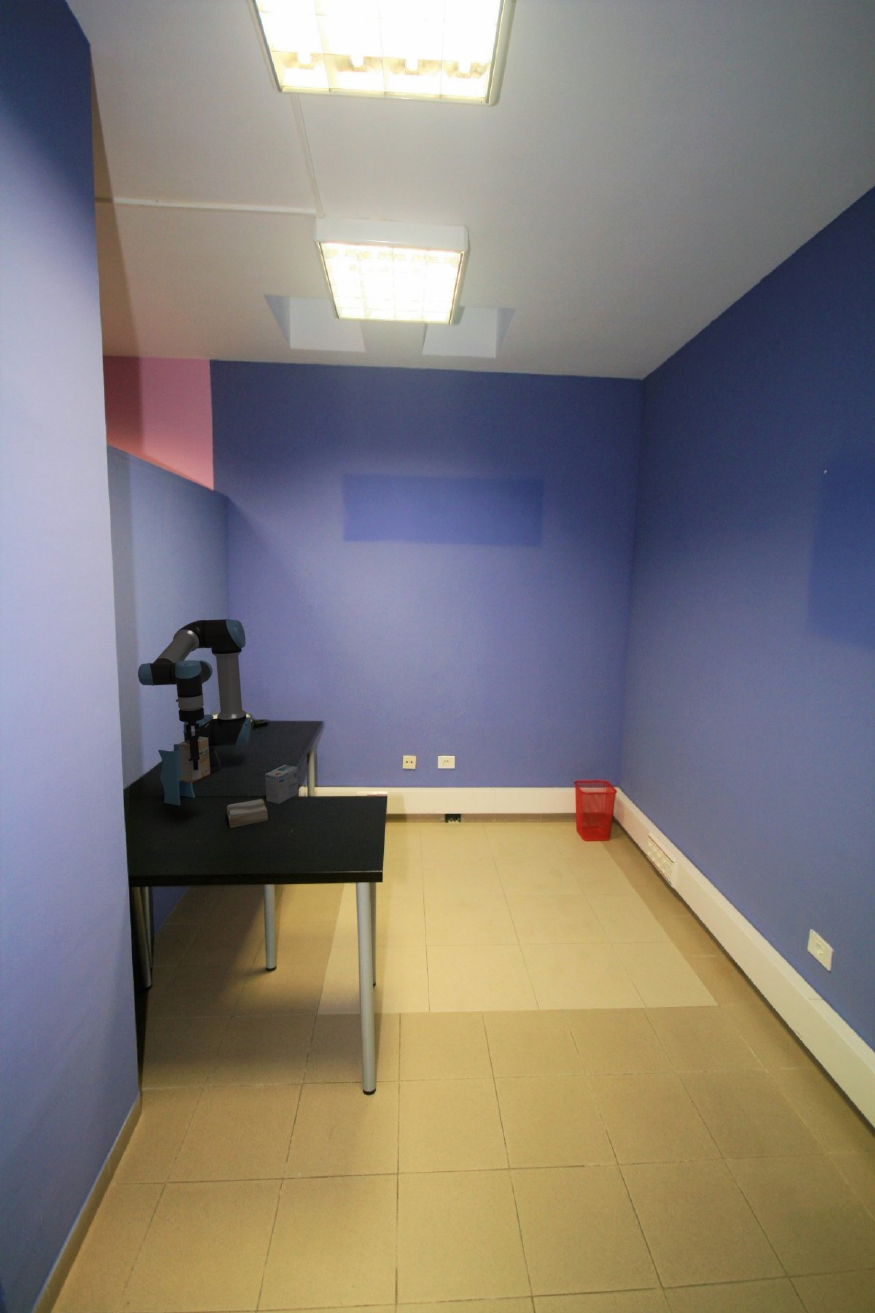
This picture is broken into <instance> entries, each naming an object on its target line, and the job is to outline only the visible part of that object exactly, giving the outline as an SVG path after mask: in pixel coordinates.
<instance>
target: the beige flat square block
mask: <svg viewBox="0 0 875 1313" xmlns="http://www.w3.org/2000/svg"><path fill="white" fill-rule="evenodd" d="M226 813H227V814H226V815H227V819H228V823H229V828H237V827H241V826H246V825H252V824H257V823H261V822H267V821H268V820H269V819H268V818H269V816H268V809H267V806H266V804H265V802H264V799H263V798H258V799H254V800H247V801H243V802H236V803H232V804H228V805H227V806H226Z"/></svg>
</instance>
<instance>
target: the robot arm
mask: <svg viewBox="0 0 875 1313" xmlns="http://www.w3.org/2000/svg"><path fill="white" fill-rule="evenodd" d="M246 644H247V643H246V633H245V629H244V626H243V624H242V622H240V621H239V620H237V619H227V618H226V619H225V618H224V619H199V620H195V621H192V622H190V623H187V624H185V625H184V626H183V627H181V628H180V629H178V630H176V632H175V634H174V635H173V637H172V641H171V642H170V643H169V644H168V645H167V647H166V648H164V650H163V651H162V652H161V653H160V654H159V655H158V657H157V658H156V659H155V660H154V661H153V662H148V663H141V664H140V665H139V667H138V671H137V678H138V681H139V683H140V684H141V685H143V686H152V687H153V686H171V685H172V686H173V685H176V694H177V699H175V703H177V706H178V708H179V709H178V720H179V721H180V722H182V723H183V731H182V732H183V740H184V741H187V740H189V741H190V752H191V758H190V759H188V760H189V761H191V772H192V780H193V779H198V780H200V779H202V778H201V768H200V757H199V746H198V739H199V737H206V738H208V746H209V762H210V774H209V775H211V774H214V773H216V772H218V771H219V770H220V769H221V767H222V765H221V760H220V758H219V755H218V753H217V751H216V747H221V746H223V747H224V746H240V745H246V744H247V743H248V741H249V739H250V736H251V730H252V718H251V717H250V716H247V712H246V711H245V710H243V704H242V691H241V688H242V687H241V673H240V663H239V655H240V654H241V653H242V651H243V648H245V646H246ZM198 649H211V650H210V651H211V654H212V655H213V656H215V658H216V659H215V660H216V661H215V662H216V671H217V672H216V673H217V681H218V682H217V685H218V695H219V706H220V708H219V709H220V712H219V713H218V714H217V716H216V718H214V715H212V714H205V708H204V705H205V700H204V694H203V684H204V683H206V682H208V681H209V679H210V678H211V677H212V675H213V667H212V665H211V664H210V662H208V661H206V660H202V659H199V660H194V659H188V660H186V658H187V657H188V656H189V655H190V653H192V652H194V651H196V650H198ZM184 741H183V742H184ZM193 756H194V757H193Z"/></svg>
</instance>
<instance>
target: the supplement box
mask: <svg viewBox="0 0 875 1313" xmlns="http://www.w3.org/2000/svg"><path fill="white" fill-rule="evenodd" d="M178 744H179V754H180V768H181V781H185V782H190V783H192V784H193V783H194V782H196V781H198V780H199V779H193V780H192V772H191V761H189V760H188V759H190V758H191V752H190V741H189V740H187V741H182V742H179V743H178ZM198 746H199V757H200V768H201V778H200V779H202V778H205V777H206V776H209V775H211V774H210V762H209V746H208V738H206V737H199V739H198ZM193 757H194V756H193Z"/></svg>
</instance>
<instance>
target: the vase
mask: <svg viewBox="0 0 875 1313" xmlns="http://www.w3.org/2000/svg"><path fill="white" fill-rule="evenodd" d="M157 752H158V754H159V755H160V757H161V762H162V769H161V773H160V776H159V780H160V781H161V782H160V783H161V784H162V787H163V791H164V792H163V793H164V798H163V799H164V800H163V803H165V804H170V805H175V806H181V798H180V797H186V798H187V797H188V798H193V799H194V798H196V795H195V792H194V789H193V782H192V783H190V782H185V781H181V768H180V754H179V743H173V751H171V750H164V749H158V750H157Z"/></svg>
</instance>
